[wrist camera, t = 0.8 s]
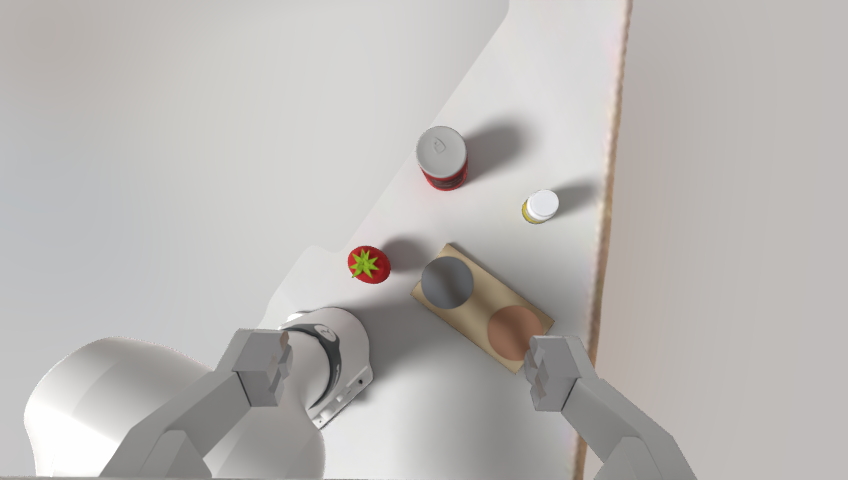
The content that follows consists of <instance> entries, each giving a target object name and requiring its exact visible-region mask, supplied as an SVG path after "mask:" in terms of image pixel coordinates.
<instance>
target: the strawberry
mask: <svg viewBox="0 0 848 480" xmlns="http://www.w3.org/2000/svg"><path fill="white" fill-rule="evenodd" d="M348 266H349V269H350V271H351V272H352V274H353V276H352V278H353V277H356V278H358V279H359V280H361V281H363V282H366V283H370V284H378V283H381V282H383V281H385V280H386V279H387V278H388V276H389V274H390V270H391V267H390V262H389V260H388V258H387V257H386V255H385V254H384V253H383V252H382V251H380V250H379V249H377V248H374V247H371V246H360V247H358V248H356V249H354V250H353V251H352V252H351V253H350V254H349V257H348Z"/></svg>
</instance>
